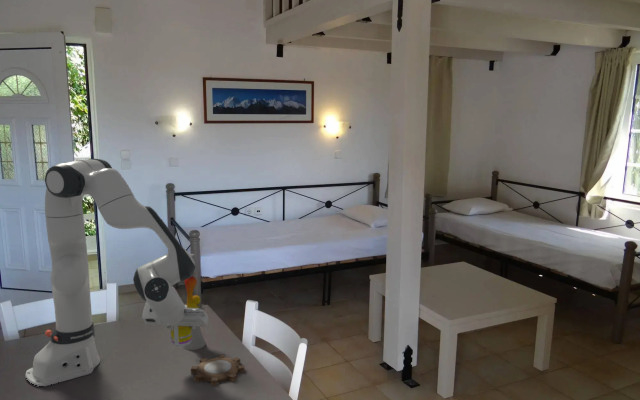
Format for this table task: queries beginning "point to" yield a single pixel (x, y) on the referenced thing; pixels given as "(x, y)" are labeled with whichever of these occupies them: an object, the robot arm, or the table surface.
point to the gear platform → (217, 369)
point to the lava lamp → (194, 303)
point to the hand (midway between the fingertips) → (181, 326)
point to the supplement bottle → (181, 335)
